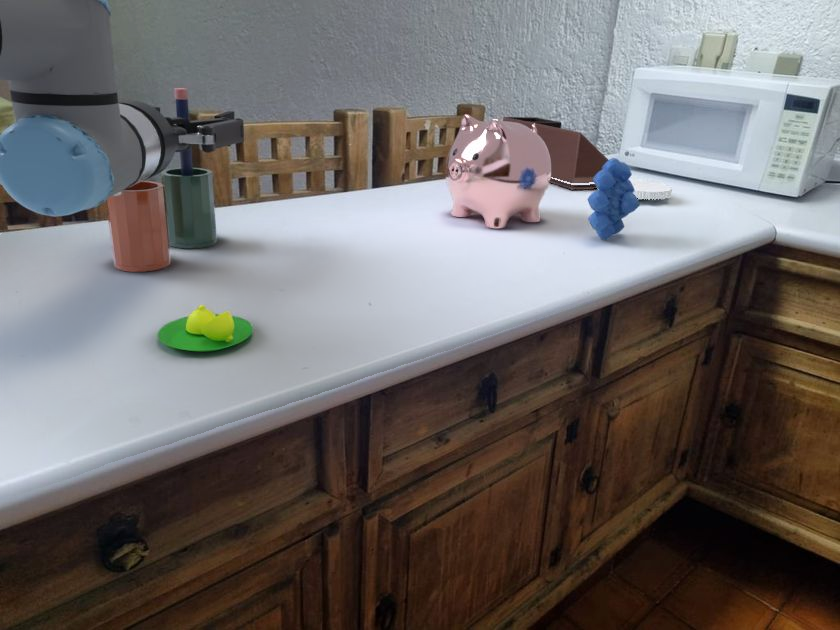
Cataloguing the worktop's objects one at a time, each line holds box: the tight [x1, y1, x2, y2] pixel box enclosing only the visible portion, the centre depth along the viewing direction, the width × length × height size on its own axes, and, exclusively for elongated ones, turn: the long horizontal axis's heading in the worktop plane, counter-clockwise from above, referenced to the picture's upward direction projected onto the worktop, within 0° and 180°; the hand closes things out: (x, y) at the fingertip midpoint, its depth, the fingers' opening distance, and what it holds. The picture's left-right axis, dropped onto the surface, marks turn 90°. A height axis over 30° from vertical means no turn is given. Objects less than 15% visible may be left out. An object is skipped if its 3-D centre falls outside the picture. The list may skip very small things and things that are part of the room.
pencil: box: [173, 87, 194, 176], centre depth 81 cm, size 1×1×18 cm
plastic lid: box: [629, 177, 673, 201], centre depth 129 cm, size 14×14×2 cm
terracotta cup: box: [105, 180, 172, 273], centre depth 74 cm, size 6×6×9 cm
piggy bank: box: [444, 113, 552, 230], centre depth 103 cm, size 15×18×16 cm
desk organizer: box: [502, 116, 609, 191], centre depth 144 cm, size 10×29×11 cm, turn 25°
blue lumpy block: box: [587, 157, 640, 240], centre depth 95 cm, size 12×7×12 cm, turn 140°
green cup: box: [160, 167, 217, 250], centre depth 83 cm, size 6×6×9 cm
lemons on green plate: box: [157, 304, 254, 353], centre depth 58 cm, size 8×8×3 cm
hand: (194, 120), depth 84 cm, fingers open, 9 cm apart
